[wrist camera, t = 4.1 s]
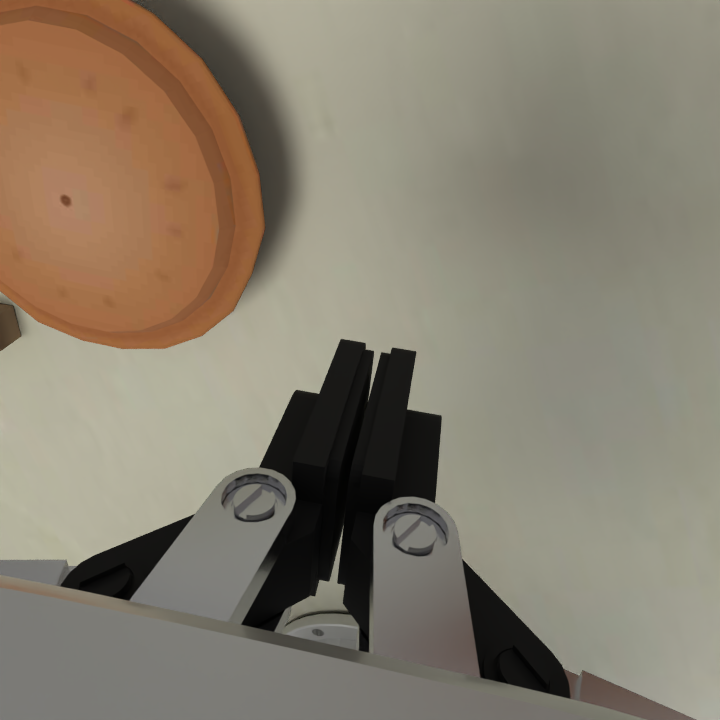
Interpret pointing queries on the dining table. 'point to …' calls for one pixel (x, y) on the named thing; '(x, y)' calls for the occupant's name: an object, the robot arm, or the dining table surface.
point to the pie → (119, 177)
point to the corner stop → (8, 326)
